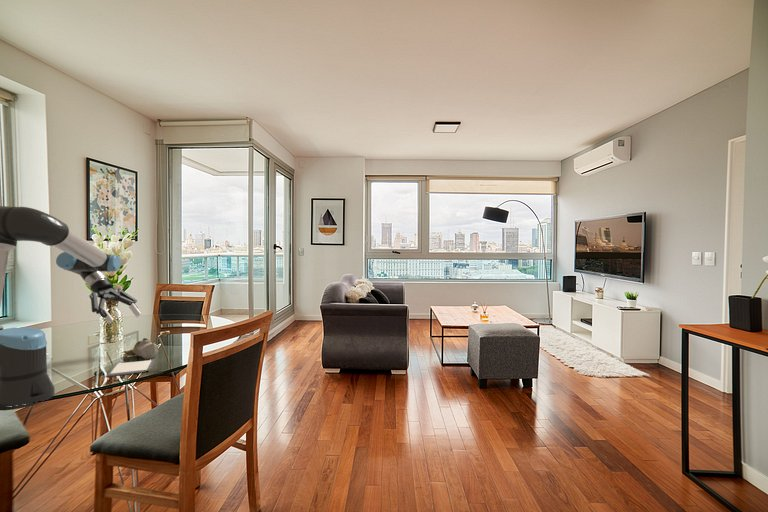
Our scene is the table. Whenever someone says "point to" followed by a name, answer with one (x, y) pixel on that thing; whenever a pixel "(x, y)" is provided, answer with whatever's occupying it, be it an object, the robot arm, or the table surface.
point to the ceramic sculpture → (144, 349)
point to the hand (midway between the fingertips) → (125, 318)
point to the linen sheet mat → (130, 368)
